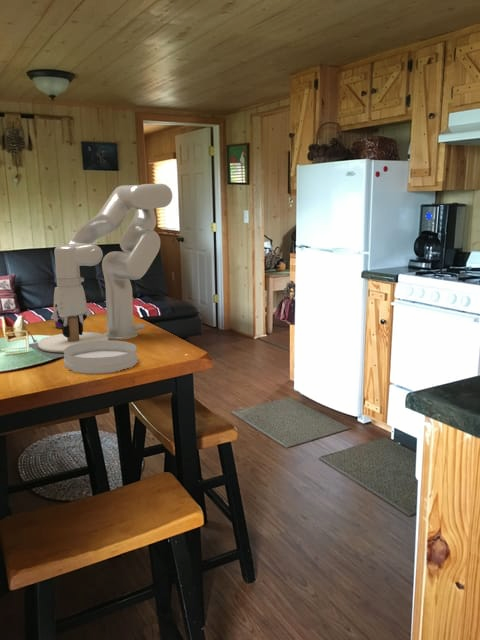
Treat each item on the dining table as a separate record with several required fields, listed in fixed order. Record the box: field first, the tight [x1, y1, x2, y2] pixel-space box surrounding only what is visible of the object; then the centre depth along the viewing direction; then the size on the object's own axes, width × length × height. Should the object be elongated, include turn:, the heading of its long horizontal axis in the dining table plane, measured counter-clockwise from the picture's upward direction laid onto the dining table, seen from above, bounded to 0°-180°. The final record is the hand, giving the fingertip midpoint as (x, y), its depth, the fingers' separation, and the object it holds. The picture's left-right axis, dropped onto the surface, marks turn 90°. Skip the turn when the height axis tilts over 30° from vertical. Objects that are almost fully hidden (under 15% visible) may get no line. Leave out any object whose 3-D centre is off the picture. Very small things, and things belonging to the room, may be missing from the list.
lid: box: [37, 316, 109, 352], centre depth 186 cm, size 23×23×9 cm
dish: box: [63, 339, 138, 375], centre depth 168 cm, size 22×22×5 cm
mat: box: [28, 342, 76, 360], centre depth 187 cm, size 23×23×1 cm
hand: (73, 335), depth 187 cm, fingers closed on lid, 4 cm apart
